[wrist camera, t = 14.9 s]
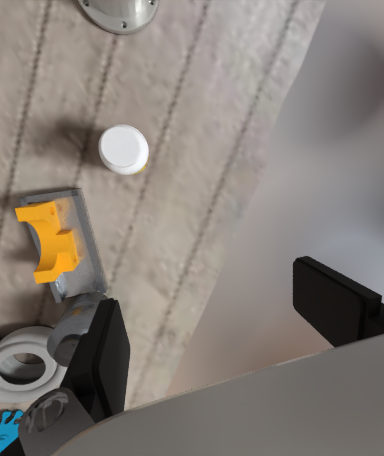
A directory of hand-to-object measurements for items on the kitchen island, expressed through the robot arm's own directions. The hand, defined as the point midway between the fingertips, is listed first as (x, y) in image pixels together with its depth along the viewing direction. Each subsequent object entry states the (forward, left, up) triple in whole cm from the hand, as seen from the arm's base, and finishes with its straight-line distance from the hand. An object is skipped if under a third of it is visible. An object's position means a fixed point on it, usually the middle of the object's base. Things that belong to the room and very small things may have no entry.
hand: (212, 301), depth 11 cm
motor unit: (+9, -18, -32) cm, 38 cm away
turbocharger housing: (+26, -33, -33) cm, 53 cm away
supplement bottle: (-10, -5, -32) cm, 34 cm away
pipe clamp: (+2, -20, -32) cm, 37 cm away
